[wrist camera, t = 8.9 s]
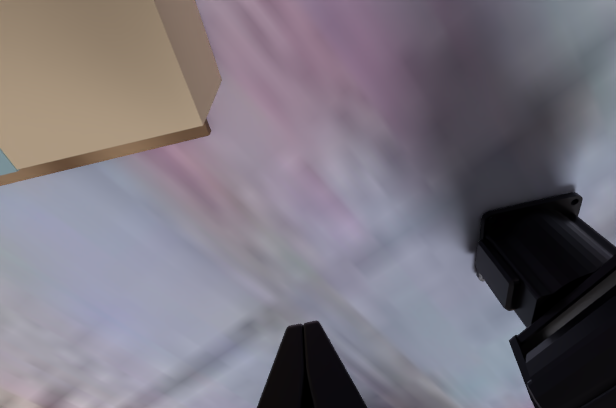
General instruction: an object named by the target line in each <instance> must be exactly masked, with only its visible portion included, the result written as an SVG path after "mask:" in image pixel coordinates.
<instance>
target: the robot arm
mask: <svg viewBox="0 0 616 408" xmlns="http://www.w3.org/2000/svg"><path fill="white" fill-rule="evenodd" d="M581 203H582V197H581V196H580V195H579V194H577V193H575V192H574V193H568V194H564V195H559V196H555V197H550V198H546V199H541V200H537V201H532V202H528V203H523V204H519V205H515V206H510V207H506V208H501V209H497V210H492V211H488V212H486V213H485V214H484V215H483V216H482V219H481V230H480V240H479V242H478V244H477V255H476V269H477V277H478V278H479V280H480V281H486V283H487V284H488V286H489V287H490V289H491V290H492V292H493V293H494V294H495V296H496V297H497V299H498V300H499V302H500V303H501V304H502V306H503V307H504V308H505V309H506V310H508V311H511V310H514V311H515V312H516V314H517V315H518V317H519V318H520V319H521V321H522V322H523V324H524V325H525V326H526V329H525V330H523V331H522V332H521V333H520V334H519V335H515V336H514V337H512V338H511V339H510V340H509V342H510V345H511V348H512V350H513V353H514V356H515V358H516V361H517V363H518V366H519V369H520V371H521V374H522V377H523V379H524V382H525V385H526V387H527V390H528V393H529V395H530V398H531V400H532V402H533V405H534V407H535V408H616V247H615V246H614V245H613V244H611V243H610V242H609V241H608V240H606V239H605V238H604V237H603V236H601V235H600V234H599V233H598V232H596V231H595V230H594V229H593V228H591V227H590V226H589V225H588V224H586V223H585V222H584V221H583V220H581V219H580V218H579V217H578V214H579V210H580V207H581ZM490 218H491V219H490ZM257 408H367V406H366V404H365V402H364V401H363V399H362V397H361V395H360V394H359V392H358V390H357V388H356V386H355V385H354V383H353V381H352V379H351V378H350V376H349V374H348V372H347V370H346V369H345V367H344V365H343V363H342V362H341V360H340V358H339V356H338V354H337V353H336V351H335V349H334V347H333V346H332V344H331V342H330V340H329V338H328V337H327V335H326V333H325V331H324V330H323V328H322V326H321V324H320V323H319V322H318V321H312V322H307V323H305V324H304V325H302V324H296V325H291V326H288V327H287V329H286V331H285V333H284V336H283V339H282V342H281V344H280V347H279V350H278V352H277V355H276V358H275V360H274V363H273V366H272V368H271V371H270V374H269V376H268V379H267V382H266V385H265V387H264V390H263V393H262V395H261V398H260V401H259V403H258V406H257Z"/></svg>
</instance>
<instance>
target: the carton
mask: <svg viewBox="0 0 616 408" xmlns="http://www.w3.org/2000/svg"><path fill="white" fill-rule="evenodd" d="M221 81H222V79H221V76H220V73H219V70H218V67H217V64H216V61H215V58H214V55H213V53H212V50H211V47H210V44H209V41H208V38H207V35H206V32H205V29H204V26H203V23H202V20H201V17H200V14H199V11H198V8H197V5H196V2H195V0H0V176H1V175H5V174H9V173H13V172H17V171H19V170H20V169H22V168H26V167H30V166H35V165H39V164H43V163H47V162H52V161H56V160H60V159H64V158H68V157H73V156H77V155H81V154H85V153H89V152H94V151H98V150H102V149H106V148H111V147H115V146H119V145H123V144H127V143H132V142H136V141H140V140H144V139H149V138H153V137H157V136H161V135H165V134H170V133H174V132H178V131H182V130H187V129H191V128H195V127H199V126H203V125H204V122H205V120H206V117H207V115H208V113H209V110H210V108H211V105H212V103H213V100H214V98H215V96H216V93H217V91H218V88H219V86H220V83H221Z"/></svg>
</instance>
